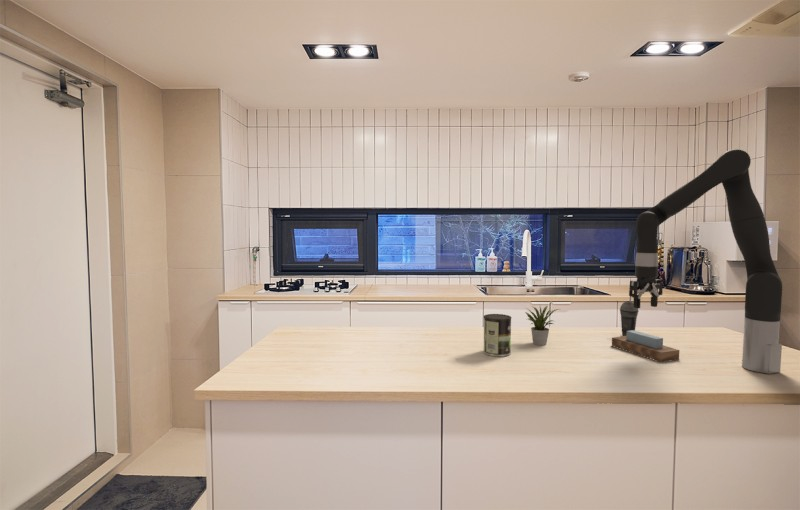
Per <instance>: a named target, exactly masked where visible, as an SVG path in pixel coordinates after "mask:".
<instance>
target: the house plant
mask: <svg viewBox="0 0 800 510" xmlns="http://www.w3.org/2000/svg"><path fill="white" fill-rule="evenodd" d="M531 307H532V308H533V309H534V311H535V313H534V312H533V311H531V310H530V309H529V308H527V307H525V309H527V311H529V312H530V313H528V312H526V311H525V314H526V316H527V317H528V318H527V320H528V321H531V323H530V325H534V326H533V327H530V330H531V336H532V343H533V344H534V346H535V345H537V346H546V345H547V342H548V337H549V333H550V329H549V328H548V327H546V326H548V325H554V323H553V322H556V321H555V320H552V319H551V320H548V318H549V317H550V316H551V315H552V314H553V313H555V312H556V311H558V310H559V311H560V308H557V309H554V310H553V309H552V310H551V307H550V308H549V309H547V308H548V307H549V306H548V305H546V306H545V307H543V309H542V307H541V305H540V304H539V310H538V309H537V307H535V306H534V305H532V306H531ZM547 310H548V311H547ZM547 320H548V321H547ZM546 321H547V322H546Z"/></svg>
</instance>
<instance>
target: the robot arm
mask: <svg viewBox="0 0 800 510" xmlns="http://www.w3.org/2000/svg"><path fill="white" fill-rule="evenodd" d="M751 160H752V159H751V156H750V155H749V153H748V152H746V151H744V149H743V150H742V149H736V148H735V149H729V150H727V151H725V152H724V153H722V154H721V155H720V156H719V158H717V159H716V161H715V162H713V163H712V164H711V165H710V166H708V168H706V169H705V170H704V171H702V172H701V173H700V174H699V175H698V176H696V177H695V178H693V179H691V180H690V181H688V182H687V183H685V184H684V185H682V186H680V187H679V188H678V189H676V190H674V191H673V192H672V193H670V194H668V195H667V196H666V197H664V198H663V199H662V200H660V201H659V202H658V203H657V204H656V205H654V206H652V207H651V208H650V209H648V210H647V211H644V212H642V213H640V214H639V215H638V216H637V218H636V237H637V238H636V251H635V252H636V254H635V266H634V267H635V268H634V269H635V271H634V272H635V273H634V276H635V277H636V280H630V281H629V290H628V296H629V297H630V296H631V298H632V299H633V302H634V304H633V305H634V308H638V309H641V297H642V296H643V295H644V294H645V293H649V294H650V295H651V296H650V306H651V307H654V308H656V307H658V303H659V301H658V300H659V297H660V296H662V295H663V279H660V278H659V279H657V278H658V277H659V243H658V242H659V241H658V230H659V226H660V225H661V224H663V223H664V222H666V221H667V220H669V218H671V217H673V216H675V215H677V214H678V213H681V211H683V210H685V209H686V208H687V207H689V206H691V205H692V204H694V203H695V202H696V201H697V200H699V199H700V198H701V197H702V196H704V195H705V194H706V193H707V192H709V191H710V190H712V189H713V188H715V187H717V186H719V185H720V184H722V186H723V189H724V193H725V195H726V202H727V204H726V205H727V211H728V217H729V218H728V219H729V222H730V226H731V227H730V228H731V230H732V233H733V237H734V240H735V241H736V244H737V247H738V248H739V250H740V253H741V255H742V257H743V260H744V264H745V269H746V277H747V278H746V279H747V280H746V283H745V298H744V299H745V300H744V321H743V322H744V324H743V339H742V342H743V343H742V357H741V361H742V362H741V367H742V368H744V369H745V370H749V371H752V372H756V373H763V374H768V375H770V374H777V373H780V372H781V366H782V365H781V364H782V347H783V344H782V343H779V342H780V326H781V316H782V299H783V298H782V297H783V281H782V279H781V277H780V275H779V273H778V271H777V268H776V266H775V264H774V261H773V257H772V254H771V246H770V235H769V230H768V225H767V221H766V218H765V215H764V212H763V209H762V206H761V204H760V202H759V200H758V198H757V197H756V195H755V193H754V190H753V188H752V184H751V178H750V170H749V168H750V166H751Z"/></svg>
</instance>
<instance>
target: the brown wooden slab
mask: <svg viewBox="0 0 800 510" xmlns="http://www.w3.org/2000/svg"><path fill="white" fill-rule="evenodd" d="M613 346H615V347H614V348H616V347H618V348H617V349H619V348H621V349H620V350H622V349H624V350H623V351H625V350H627V351H626V352H628V351H630V352H629V353H631V352H633V353H632V354H634V353H636V354H635V355H637V354H639V355H638V356H640V355H642V356H641V357H643V356H645V357H644V358H647V357H648V358H647V359H650V358H651V359H650V360H653V359H654V360H653V361H656V362H659V363H663V362H664V361H665V362H671V361H670V360H672V361H678V359H679V360H680V349H677V348H675V347H674V348H673V347H671V346H670V347H669V346H666V345H664V344H663V348H652V347H649V346H646V345H642V344H639V343H636V342H632V341H629V340H626V336H622V335H621V336H612V337H611V347H613ZM665 362H664V363H665Z"/></svg>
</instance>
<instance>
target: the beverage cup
mask: <svg viewBox="0 0 800 510" xmlns="http://www.w3.org/2000/svg"><path fill="white" fill-rule="evenodd" d="M633 304H634V301H632V297H631V296H629V300H628V301H627V300H626V301H624V302H623V303H622V304H621V305H620V308H619V313H620V322H621V324H620V325H621V336H622V335H623V336H627V331H631V330H634V331H636V325H637V319H638V314H639V308H634V305H633Z"/></svg>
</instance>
